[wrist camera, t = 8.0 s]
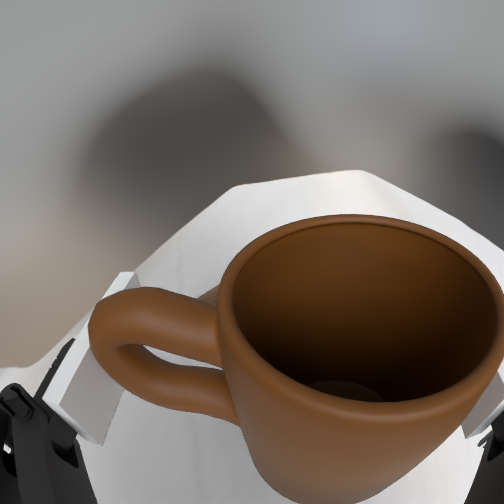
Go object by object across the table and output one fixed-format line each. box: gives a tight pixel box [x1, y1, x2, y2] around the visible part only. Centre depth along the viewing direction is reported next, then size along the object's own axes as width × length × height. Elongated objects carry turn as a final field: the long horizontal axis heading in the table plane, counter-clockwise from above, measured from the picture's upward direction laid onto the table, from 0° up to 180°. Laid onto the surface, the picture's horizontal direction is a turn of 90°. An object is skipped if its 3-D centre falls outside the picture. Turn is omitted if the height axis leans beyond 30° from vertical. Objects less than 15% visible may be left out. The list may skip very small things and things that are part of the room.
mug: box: [87, 214, 504, 504], centre depth 9 cm, size 12×8×9 cm, turn 88°
